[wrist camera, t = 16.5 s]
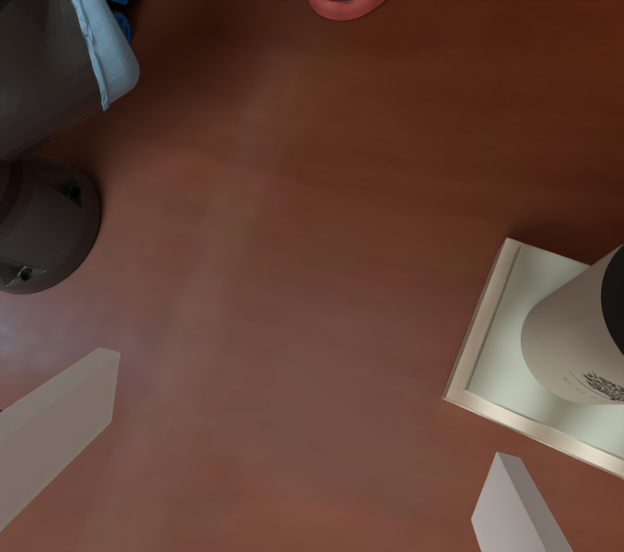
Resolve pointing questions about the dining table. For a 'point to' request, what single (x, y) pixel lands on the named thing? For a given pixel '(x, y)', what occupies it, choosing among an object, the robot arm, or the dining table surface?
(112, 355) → the robot arm
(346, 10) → the stacking bear
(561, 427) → the plinth
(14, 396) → the dining table surface
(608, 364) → the travel mug
